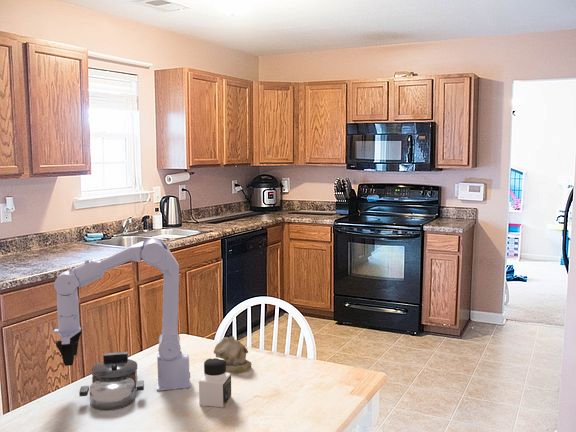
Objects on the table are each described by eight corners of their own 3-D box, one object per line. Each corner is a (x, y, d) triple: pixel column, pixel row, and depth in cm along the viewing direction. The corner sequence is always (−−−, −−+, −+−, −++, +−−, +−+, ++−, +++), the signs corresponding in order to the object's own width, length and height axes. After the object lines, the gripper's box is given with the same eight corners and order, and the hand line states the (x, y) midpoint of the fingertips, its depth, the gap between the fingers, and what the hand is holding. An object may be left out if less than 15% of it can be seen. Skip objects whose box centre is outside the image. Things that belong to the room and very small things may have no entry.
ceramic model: (204, 365, 180) (204, 336, 179) (229, 356, 189) (229, 327, 187) (235, 377, 171) (234, 346, 170) (260, 366, 180) (259, 336, 178)
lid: (138, 360, 172) (137, 350, 172) (136, 376, 159) (136, 366, 159) (94, 363, 169) (93, 354, 169) (89, 381, 156) (88, 371, 156)
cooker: (145, 374, 173) (144, 360, 172) (143, 406, 151) (143, 391, 151) (87, 379, 169) (87, 365, 168) (78, 413, 147) (77, 397, 147)
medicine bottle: (223, 408, 151) (223, 365, 149) (199, 405, 152) (198, 363, 151) (231, 396, 158) (231, 356, 156) (207, 394, 159) (207, 354, 158)
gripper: (57, 307, 163) (59, 352, 164) (48, 322, 149) (51, 371, 150) (82, 306, 164) (85, 350, 166) (76, 320, 150) (78, 368, 152)
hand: (70, 360), depth 158 cm, fingers open, 7 cm apart
